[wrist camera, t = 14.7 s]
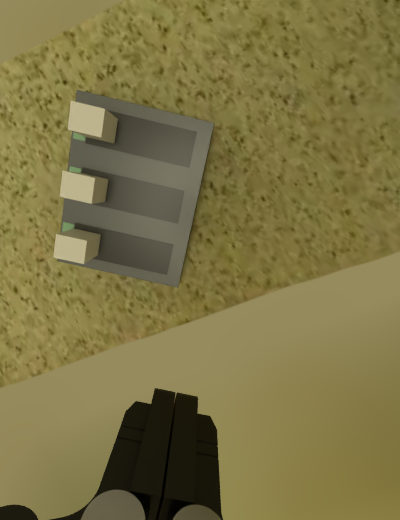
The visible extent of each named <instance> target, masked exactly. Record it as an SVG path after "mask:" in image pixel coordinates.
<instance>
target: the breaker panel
mask: <svg viewBox="0 0 400 520" xmlns="http://www.w3.org/2000/svg"><path fill="white" fill-rule="evenodd" d="M76 102H79V103H83V104H87V105H91V106H95V107H99V108H104V109H106V110H107V111H108V112H110V113H111V114H112V115H114V116H115V117H116V118H117V119H118V122H117V129H116V136H115V142H114V144H113V143H109V142H105V141H100V140H96V139H92V138H88V137H84V136H82V135H80V134H77V133H75V132H72V138H71V146H70V155H69V164H68V171H70V172H79V173H84V174H88V175H93V176H97V177H101V178H106V179H108V186H107V193H106V200H105V202H101V203H94V204H90V203H85V202H81V201H77V200H72V199H68V198H65V199H64V207H63V216H62V225H61V232H64V231H67V230H70V229H73V228H74V229H79V230H83V231H88V232H92V233H97V234H101V237H100V244H99V250H98V255H97V256H96V257H94V258H93V259H91V260H90V261H88V262H86V263H85V264H81V263H76V262H72V261H67V260H62V259H57V261H59V262H64V263H69V264H73V265H78V266H82V267H87V268H91V269H96V270H101V271H105V272H110V273H114V274H119V275H123V276H128V277H133V278H137V279H142V280H146V281H151V282H155V283H160V284H165V285H169V286H174V287H178V285H179V281H180V277H181V273H182V268H183V263H184V259H185V254H186V250H187V245H188V241H189V236H190V232H191V227H192V223H193V218H194V213H195V209H196V204H197V200H198V195H199V191H200V186H201V182H202V177H203V173H204V168H205V163H206V159H207V154H208V150H209V145H210V141H211V136H212V132H213V126H214V123H212V122H208V121H204V120H200V119H195V118H191V117H187V116H183V115H179V114H175V113H171V112H167V111H162V110H158V109H154V108H150V107H146V106H142V105H138V104H134V103H129V102H125V101H121V100H117V99H113V98H109V97H105V96H100V95H96V94H92V93H88V92H84V91H80V90H77V94H76Z"/></svg>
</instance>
